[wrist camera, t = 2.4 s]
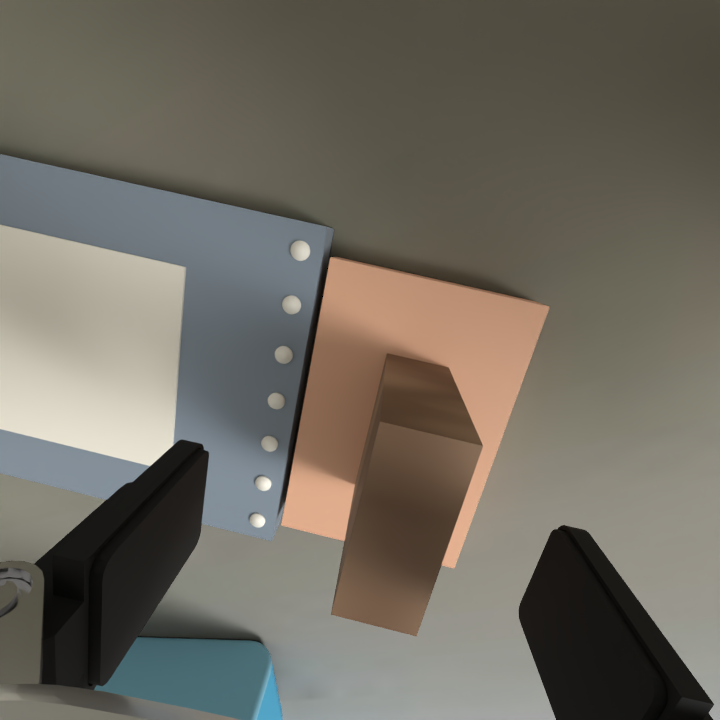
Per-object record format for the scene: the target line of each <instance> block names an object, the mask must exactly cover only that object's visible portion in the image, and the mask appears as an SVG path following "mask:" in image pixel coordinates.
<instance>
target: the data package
mask: <svg viewBox="0 0 720 720" xmlns="http://www.w3.org/2000/svg"><path fill="white" fill-rule="evenodd" d="M94 690H97V691H104V692H109V693H114V694H119V695H124V696H129V697H134V698H140V699H145V700H150V701H155V702H160V703H165V704H170V705H175V706H180V707H185V708H190V709H194V710H199V711H204V712H208V713H213V714H217V715H222V716H226V717H231V718H235V719H240V720H282V709H281V704H280V700H279V695H278V690H277V685H276V680H275V675H274V670H273V665H272V660H271V656H270V653H269V651H268V650H267V648H266V647H265V646H264V645H262V644H261V643H259V642H256V641H250V640H217V639H183V638H149V637H137V638H136V640H135V641H134V643H133V644H132V646H131V647H130V649H129V650H128V652H127V654H126V655H125V657H124V658H123V660H122V661H121V663H120V664H119V666H118V667H117V669H116V671H115V672H114V674H113V675H112V677H111V678H110V680H109V681H108V682H107V683H106V684H105V685H104V686H98V685H97V686H96V687H95V689H94Z"/></svg>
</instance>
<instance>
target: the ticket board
mask: <svg viewBox="0 0 720 720" xmlns="http://www.w3.org/2000/svg"><path fill="white" fill-rule="evenodd" d="M333 233H334V229H332V228H329V227H326V226H322V225H317V224H313V223H308V222H304V221H299V220H295V219H290V218H286V217H281V216H277V215H272V214H268V213H263V212H259V211H254V210H250V209H245V208H241V207H236V206H232V205H227V204H223V203H218V202H214V201H209V200H205V199H200V198H196V197H191V196H187V195H182V194H178V193H173V192H169V191H164V190H160V189H155V188H151V187H146V186H142V185H137V184H133V183H128V182H124V181H119V180H115V179H110V178H106V177H101V176H97V175H92V174H88V173H83V172H79V171H74V170H70V169H65V168H61V167H56V166H52V165H47V164H43V163H38V162H34V161H29V160H25V159H20V158H16V157H11V156H7V155H2V154H0V473H2V474H6V475H10V476H14V477H18V478H22V479H26V480H30V481H34V482H38V483H42V484H46V485H50V486H54V487H58V488H62V489H66V490H70V491H74V492H78V493H82V494H86V495H90V496H94V497H98V498H102V499H106V500H107V499H108V498H109V497H110V496H112V495H113V494H114V493H115V492H116V491H117V490H118V489H119V488H121V487H122V486H123V485H125V484H126V483H130V482H133V481H134V480H135V479H137V478H138V477H139V476H140V475H141V474H142V473H143V472H144V471H145V470H146V469H148V468H149V467H150V466H151V465H152V464H153V463H154V462H155V461H156V460H158V459H159V458H160V457H161V456H162V455H163V454H164V453H165V452H166V451H167V450H169V449H170V448H171V447H172V446H173V445H174V444H175V443H176V442H177V441H179V440H182V439H183V440H187V441H192V442H196V443H200V444H203V447H204V450H206V451H208V452H209V461H208V470H207V479H206V488H205V497H204V506H203V515H202V524H205V525H209V526H213V527H217V528H221V529H225V530H229V531H233V532H237V533H241V534H245V535H249V536H253V537H257V538H261V539H265V540H269V541H272V540H273V537H274V535H275V533H276V530H277V528H278V526H279V524H280V521H281V519H282V513H283V508H284V502H285V497H286V491H287V486H288V480H289V475H290V469H291V464H292V458H293V453H294V447H295V442H296V436H297V431H298V425H299V420H300V414H301V409H302V403H303V398H304V392H305V387H306V381H307V376H308V370H309V365H310V359H311V354H312V348H313V343H314V337H315V332H316V326H317V321H318V315H319V310H320V304H321V299H322V293H323V288H324V282H325V277H326V271H327V266H328V260H329V255H330V249H331V244H332V238H333Z"/></svg>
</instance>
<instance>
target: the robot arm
mask: <svg viewBox="0 0 720 720" xmlns="http://www.w3.org/2000/svg"><path fill="white" fill-rule="evenodd" d="M208 461H209V452H208V451H206V450H204V447H203V444H200V443H196V442H192V441H187V440H183V439H182V440H179V441H177V442H176V443H175V444H174V445H173V446H172V447H171V448H170V449H169V450H167V451H166V452H165V453H164V454H163V455H162V456H161V457H160V458H159V459H158V460H156V461H155V462H154V463H153V464H152V465H151V466H150V467H149V468H148V469H146V470H145V471H144V472H143V473H142V474H141V475H140V476H139V477H138V478H137V479H135V480H134V481H133V482H130V483H126V484H125V485H123V486H122V487H121V488H119V489H118V490H117V491H116V492H115V493H114V494H113V495H112V496H110V497H109V498H108V499H107V500H106V501H105V502H104V503H102V504H101V505H100V506H99V507H98V508H97V509H96V510H95V511H93V512H92V513H91V514H90V515H89V516H88V517H87V518H85V519H84V520H83V521H82V522H81V523H80V524H79V525H78V526H76V527H75V528H74V529H73V530H72V531H71V532H70V533H69V534H67V535H66V536H65V537H64V538H63V539H62V540H61V541H59V542H58V543H57V544H56V545H55V546H54V547H53V548H52V549H50V550H49V551H48V552H47V553H46V554H45V555H44V556H43V557H41V558H40V559H39V560H38V561H37V562H36V563H35V564H31V563H28V562H25V561H6V562H0V720H240V719H235V718H231V717H226V716H222V715H217V714H213V713H208V712H204V711H199V710H194V709H190V708H185V707H180V706H175V705H170V704H165V703H160V702H155V701H150V700H145V699H140V698H134V697H129V696H124V695H119V694H114V693H109V692H104V691H97V690H94V689H95V687H96V686H97V685H98V686H104V685H105V684H106V683H107V682H108V681H109V680H110V678H111V677H112V675H113V674H114V672H115V671H116V669H117V667H118V666H119V664H120V663H121V661H122V660H123V658H124V657H125V655H126V654H127V652H128V650H129V649H130V647H131V646H132V644H133V643H134V641H135V640H136V638H137V637H138V635H139V633H140V632H141V630H142V629H143V627H144V626H145V624H146V623H147V621H148V620H149V618H150V616H151V615H152V613H153V612H154V610H155V609H156V607H157V606H158V604H159V603H160V601H161V599H162V598H163V596H164V595H165V593H166V592H167V590H168V589H169V587H170V585H171V584H172V582H173V581H174V579H175V578H176V576H177V575H178V573H179V572H180V570H181V568H182V567H183V565H184V564H185V562H186V561H187V559H188V558H189V556H190V555H191V553H192V551H193V550H194V548H195V547H196V545H197V542H198V540H199V537H200V532H201V524H202V515H203V506H204V497H205V488H206V479H207V470H208ZM519 619H520V623H521V625H522V628H523V631H524V634H525V636H526V639H527V642H528V644H529V647H530V650H531V653H532V655H533V658H534V661H535V663H536V666H537V669H538V672H539V674H540V677H541V680H542V683H543V685H544V688H545V691H546V693H547V696H548V699H549V702H550V704H551V707H552V710H553V712H554V715H555V718H556V720H713V719H712V717H711V716H710V715H709V711H710V710H711V708H712V707H713V705H714V704H713V702H712V701H711V699H710V698H709V697H708V695H707V694H706V693H705V691H704V690H703V688H702V687H701V686H700V684H699V683H698V682H697V680H696V679H695V678H694V676H693V675H692V673H691V672H690V671H689V669H688V668H687V667H686V665H685V664H684V662H683V661H682V660H681V658H680V657H679V656H678V654H677V653H676V652H675V650H674V649H673V647H672V646H671V645H670V643H669V642H668V641H667V639H666V638H665V636H664V635H663V634H662V632H661V631H660V630H659V628H658V627H657V626H656V624H655V623H654V621H653V620H652V619H651V617H650V616H649V615H648V613H647V612H646V610H645V609H644V608H643V606H642V605H641V604H640V602H639V601H638V600H637V598H636V597H635V595H634V594H633V593H632V591H631V590H630V589H629V587H628V586H627V584H626V583H625V582H624V580H623V579H622V578H621V576H620V575H619V574H618V572H617V571H616V569H615V568H614V567H613V565H612V564H611V563H610V561H609V560H608V558H607V557H606V556H605V554H604V553H603V552H602V550H601V549H600V548H599V546H598V545H597V543H596V542H595V541H594V539H593V538H592V537H591V535H590V534H589V533H588V532H587V531H585V530H582V529H578V528H574V527H569V526H565V525H563V526H560V527H559V528H558V529H555V530H553V531H552V532H551V534H550V536H549V539H548V541H547V543H546V545H545V548H544V550H543V552H542V555H541V557H540V559H539V562H538V564H537V566H536V568H535V571H534V573H533V575H532V578H531V580H530V582H529V585H528V587H527V589H526V592H525V594H524V596H523V598H522V601H521V603H520V606H519Z"/></svg>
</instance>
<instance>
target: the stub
mask: <svg viewBox="0 0 720 720" xmlns="http://www.w3.org/2000/svg"><path fill="white" fill-rule="evenodd" d="M549 308H550V307H549V306H546V305H544V304H541V303H538V302H536V301H531V300H527V299H523V298H518V297H514V296H509V295H505V294H500V293H496V292H491V291H487V290H483V289H478V288H474V287H469V286H465V285H460V284H456V283H451V282H447V281H442V280H438V279H434V278H429V277H425V276H420V275H416V274H411V273H407V272H402V271H398V270H394V269H389V268H385V267H380V266H376V265H371V264H367V263H362V262H358V261H354V260H349V259H345V258H340V257H330V261H329V267H328V272H327V278H326V283H325V289H324V294H323V300H322V305H321V311H320V316H319V322H318V327H317V333H316V338H315V344H314V349H313V355H312V360H311V366H310V371H309V376H308V382H307V387H306V393H305V398H304V404H303V409H302V415H301V420H300V426H299V431H298V437H297V442H296V448H295V453H294V459H293V464H292V470H291V475H290V481H289V486H288V491H287V497H286V502H285V508H284V513H283V519H282V524H281V525H282V526H286V527H290V528H294V529H298V530H302V531H306V532H310V533H314V534H318V535H322V536H326V537H330V538H334V539H338V540H342V541H344V547H343V552H342V558H341V563H340V569H339V574H338V580H337V585H336V591H335V596H334V602H333V607H332V612H331V615H335V616H339V617H343V618H347V619H351V620H355V621H359V622H363V623H367V624H370V625H374V626H378V627H382V628H386V629H390V630H394V631H398V632H402V633H406V634H410V635H413V636H417V633H418V630H419V627H420V625H421V622H422V619H423V616H424V613H425V610H426V607H427V605H428V602H429V599H430V596H431V593H432V590H433V588H434V585H435V582H436V579H437V576H438V573H439V570H440V568H441V565H443V566H447V567H451V568H455V565H456V562H457V560H458V557H459V554H460V552H461V549H462V546H463V543H464V541H465V538H466V535H467V532H468V530H469V527H470V524H471V521H472V519H473V516H474V513H475V510H476V508H477V505H478V502H479V500H480V497H481V494H482V491H483V489H484V486H485V483H486V480H487V478H488V475H489V472H490V469H491V467H492V464H493V461H494V458H495V456H496V453H497V450H498V447H499V445H500V442H501V439H502V437H503V434H504V431H505V428H506V426H507V423H508V420H509V417H510V415H511V412H512V409H513V406H514V404H515V401H516V398H517V395H518V393H519V390H520V387H521V385H522V382H523V379H524V376H525V374H526V371H527V368H528V365H529V363H530V360H531V357H532V354H533V352H534V349H535V346H536V343H537V341H538V338H539V335H540V332H541V330H542V327H543V324H544V322H545V319H546V316H547V313H548V311H549Z"/></svg>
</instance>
